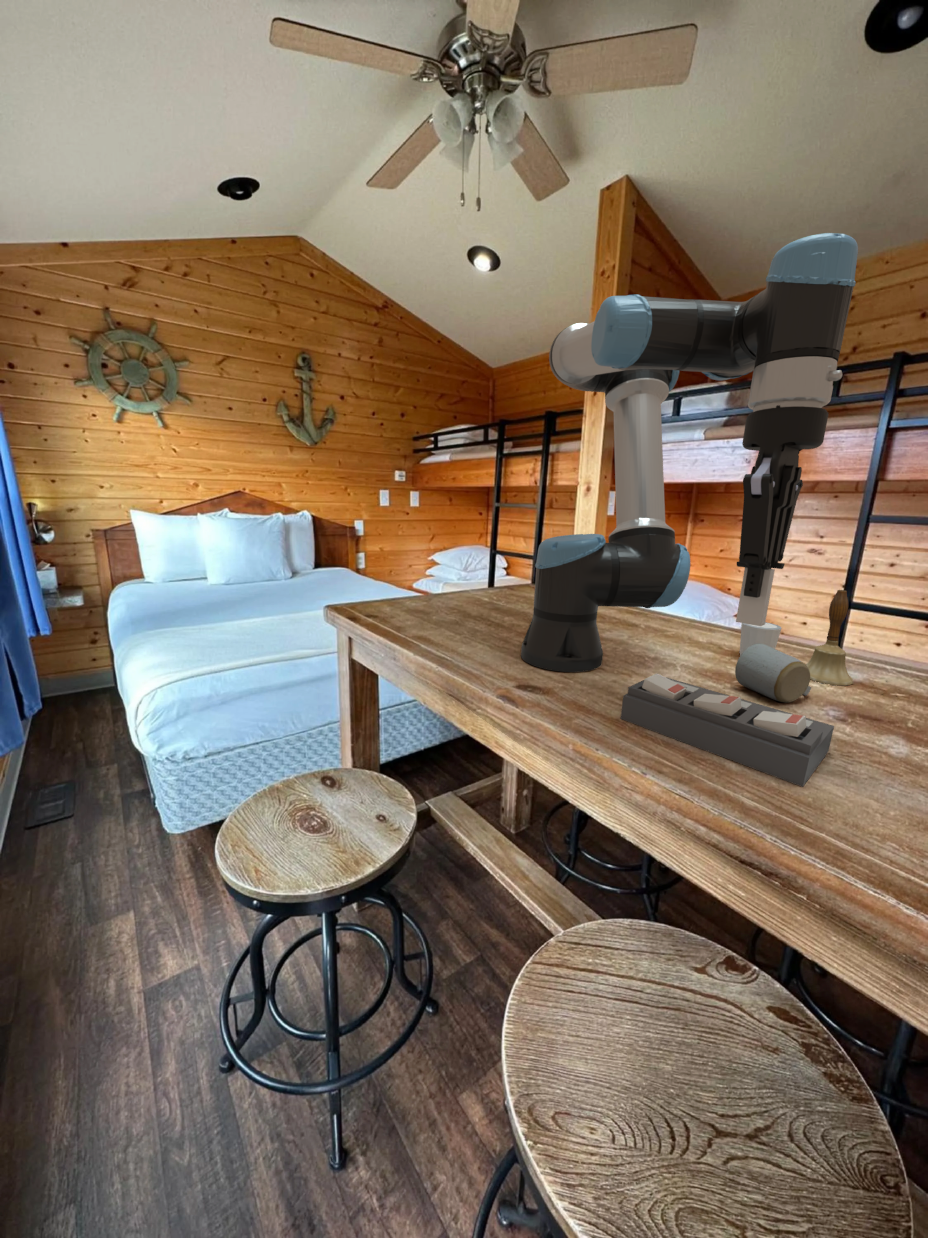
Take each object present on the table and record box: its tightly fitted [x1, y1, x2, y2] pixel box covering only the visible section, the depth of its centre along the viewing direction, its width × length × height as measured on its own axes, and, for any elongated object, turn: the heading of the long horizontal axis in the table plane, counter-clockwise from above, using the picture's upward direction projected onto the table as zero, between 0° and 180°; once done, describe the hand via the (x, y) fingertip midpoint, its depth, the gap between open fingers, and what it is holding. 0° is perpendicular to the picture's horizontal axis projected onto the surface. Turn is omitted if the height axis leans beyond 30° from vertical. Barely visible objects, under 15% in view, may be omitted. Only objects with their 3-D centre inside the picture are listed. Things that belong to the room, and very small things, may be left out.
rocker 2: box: [753, 711, 807, 737], centre depth 58 cm, size 4×4×2 cm
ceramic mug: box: [734, 644, 812, 704], centre depth 80 cm, size 11×8×8 cm
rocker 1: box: [642, 673, 687, 701], centre depth 68 cm, size 4×4×2 cm
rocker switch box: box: [620, 676, 835, 788], centre depth 66 cm, size 22×12×5 cm, turn 43°
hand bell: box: [805, 589, 854, 687], centre depth 88 cm, size 8×8×16 cm
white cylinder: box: [739, 621, 782, 655], centre depth 98 cm, size 7×7×7 cm
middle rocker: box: [694, 694, 742, 716], centre depth 63 cm, size 4×4×2 cm
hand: (750, 622), depth 59 cm, fingers closed
